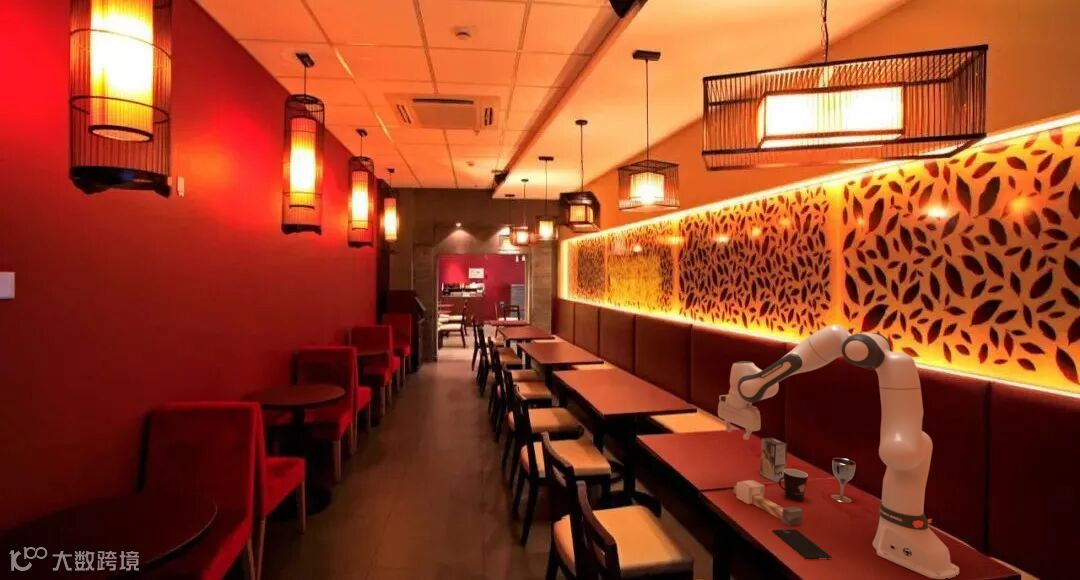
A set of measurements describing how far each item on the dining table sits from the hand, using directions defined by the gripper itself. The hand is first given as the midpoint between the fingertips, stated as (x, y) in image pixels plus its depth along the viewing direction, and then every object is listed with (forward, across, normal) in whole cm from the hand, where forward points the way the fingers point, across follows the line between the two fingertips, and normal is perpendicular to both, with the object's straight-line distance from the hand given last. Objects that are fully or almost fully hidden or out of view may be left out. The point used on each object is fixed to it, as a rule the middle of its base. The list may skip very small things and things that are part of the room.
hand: (737, 435), depth 210 cm
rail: (+22, -16, 0) cm, 28 cm away
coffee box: (+23, +6, -28) cm, 36 cm away
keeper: (+22, -9, 0) cm, 24 cm away
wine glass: (+22, -18, -38) cm, 48 cm away
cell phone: (+23, -41, +9) cm, 48 cm away
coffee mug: (+22, -12, -18) cm, 31 cm away
